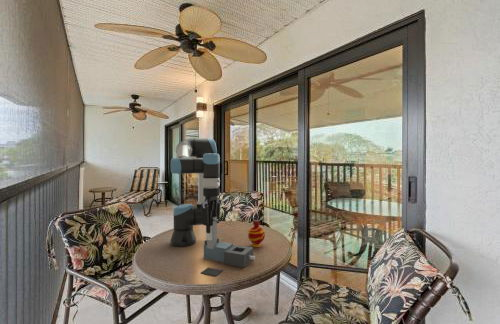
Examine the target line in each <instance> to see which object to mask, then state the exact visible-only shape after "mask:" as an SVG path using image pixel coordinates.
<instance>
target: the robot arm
mask: <svg viewBox="0 0 500 324" xmlns="http://www.w3.org/2000/svg"><path fill="white" fill-rule="evenodd" d="M175 154H176V156H175V157H172V158H171V159H170V172H171V173H172V174H176V175H180V174H183V175H184V174H185V175H187V174H198V201H197V202H196V205H193V203H184V204H179V205H177V206H175V207H174V208H173V213H172V214H173V215H172V216H173V232H172V235H171V239H170V245H171V246H173V247H178V248H182V247H188V246H193V245H195V244H196V243H197V237H196V235H195V231H194V226H205V233H206V234H205V235H206V238H205V240H212V225H211V221H212V216H217V219H218V222H217V224H219V223H220V220H221V219H220V218H221V203H222V200H221V199H219V198H218V197H219V196H220V195H221V188H220V184H221V183H220V182H221V180H220V179H221V178H220V177H221V175H220V171H221V170H220V169H221V168H220V165H221V164H220V163H221V160H220V159H221V157H220V154H219V153H218V149H217V143H216V140H214V139H213V138H186V139H184V140H182V141H180V142H178V144H176V147H175Z"/></svg>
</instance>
